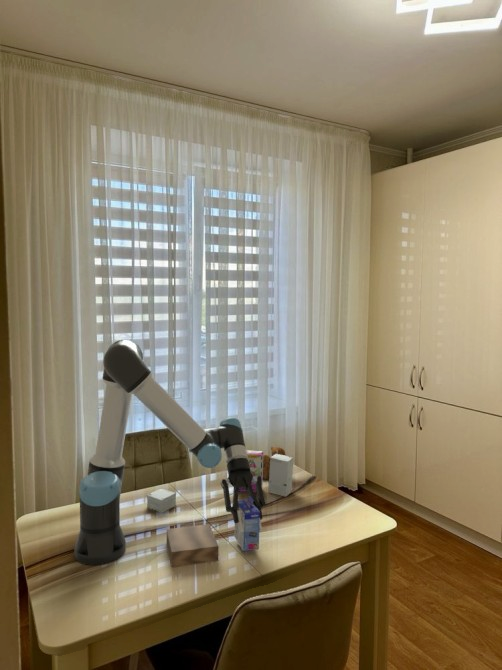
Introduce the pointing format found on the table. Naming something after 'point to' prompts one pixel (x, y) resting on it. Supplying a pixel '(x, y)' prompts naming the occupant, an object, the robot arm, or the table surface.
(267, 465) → the stuffed squirrel
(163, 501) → the small box
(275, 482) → the skincare box
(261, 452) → the candy bar box
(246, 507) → the ink cartridge box
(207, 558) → the walnut block
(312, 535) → the table surface
